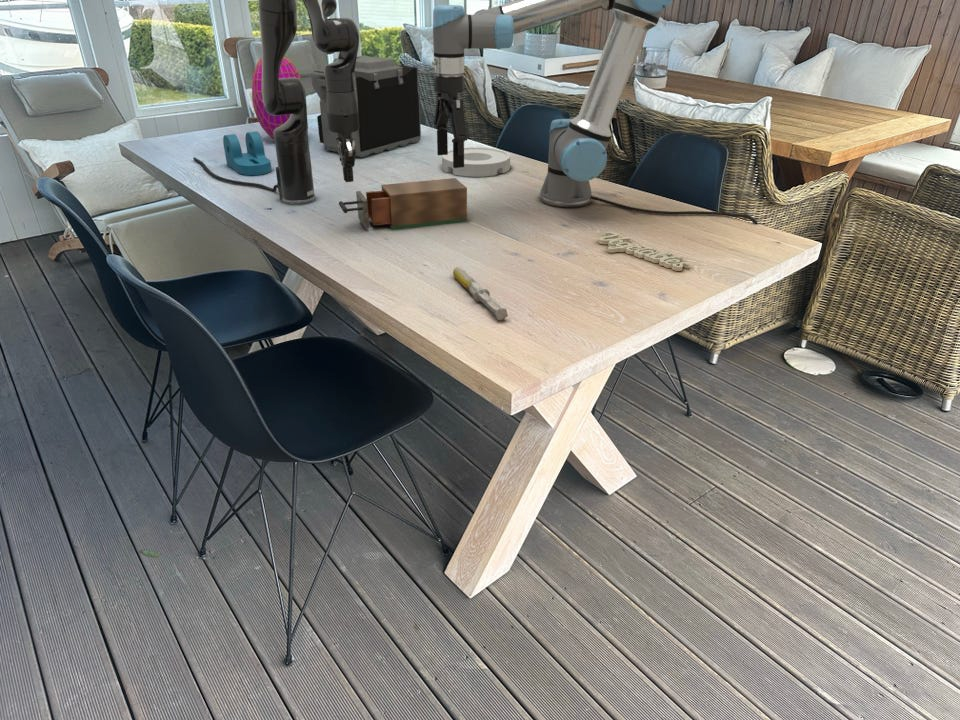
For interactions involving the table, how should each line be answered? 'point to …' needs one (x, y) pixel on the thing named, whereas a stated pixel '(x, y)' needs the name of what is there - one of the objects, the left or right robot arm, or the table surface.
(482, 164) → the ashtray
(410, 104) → the electronic device
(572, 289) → the table surface
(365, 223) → the drawer
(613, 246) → the decorative sign
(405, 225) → the cabinet
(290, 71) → the decorative egg
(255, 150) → the camera mount
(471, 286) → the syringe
